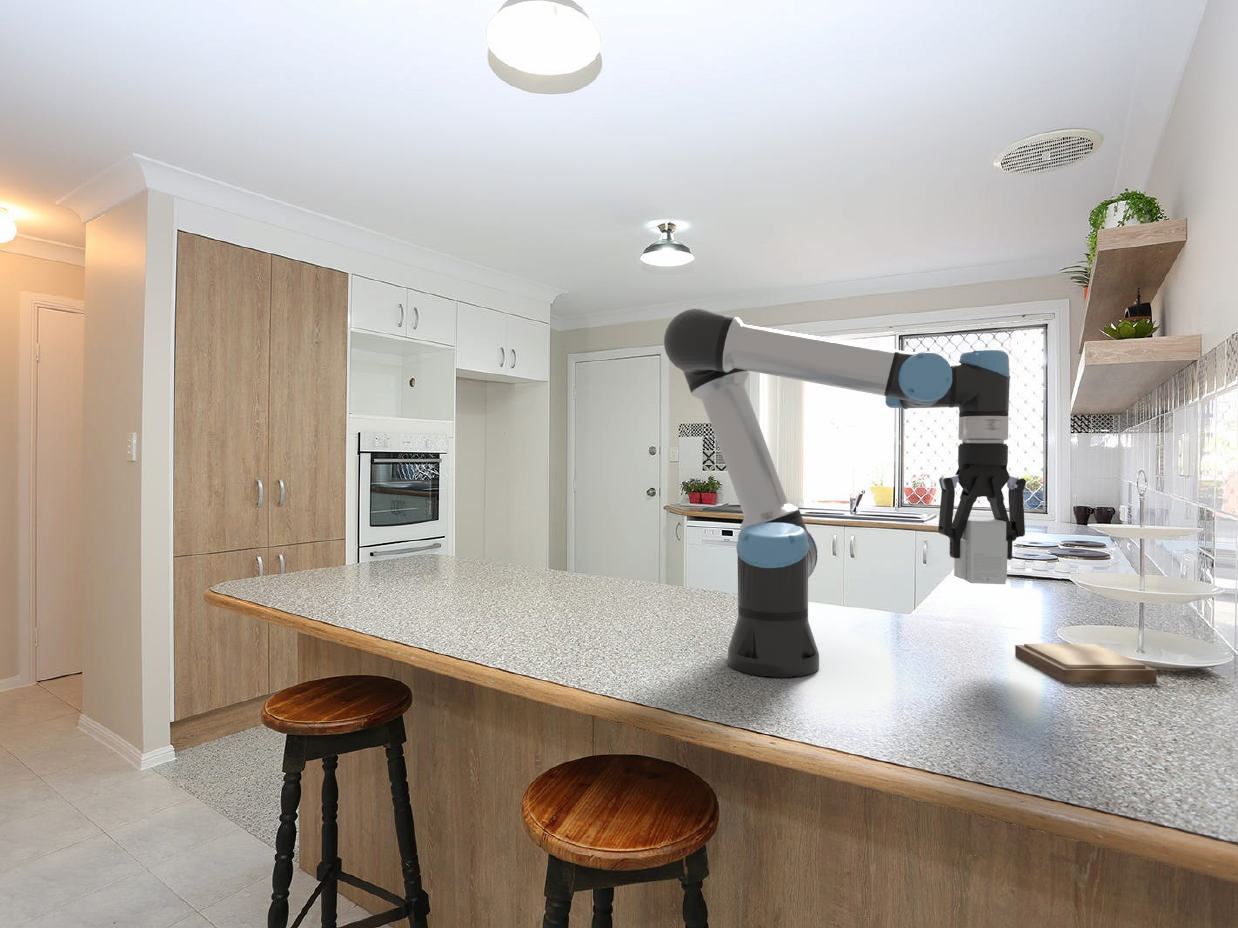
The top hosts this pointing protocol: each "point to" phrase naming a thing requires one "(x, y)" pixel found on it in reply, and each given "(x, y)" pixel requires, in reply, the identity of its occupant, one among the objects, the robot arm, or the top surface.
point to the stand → (1085, 663)
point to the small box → (985, 550)
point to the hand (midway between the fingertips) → (980, 577)
